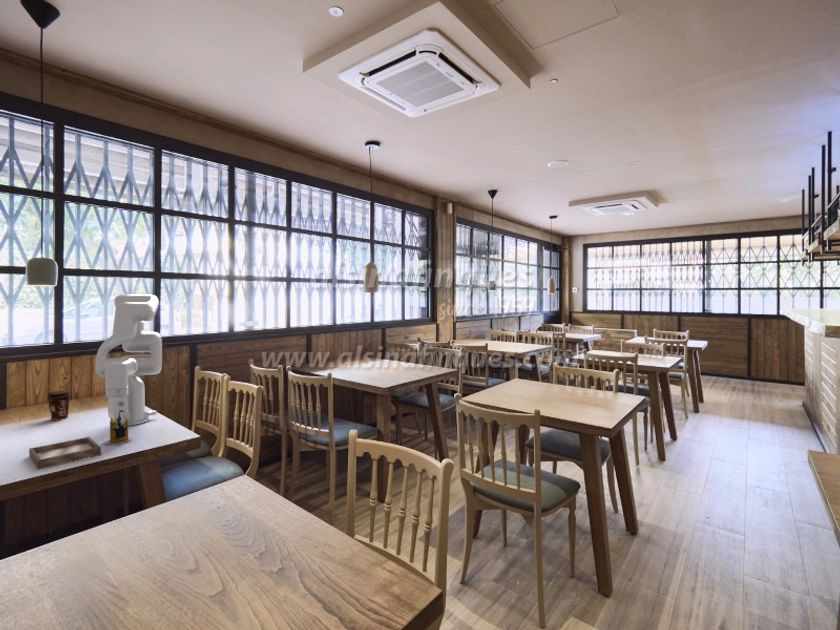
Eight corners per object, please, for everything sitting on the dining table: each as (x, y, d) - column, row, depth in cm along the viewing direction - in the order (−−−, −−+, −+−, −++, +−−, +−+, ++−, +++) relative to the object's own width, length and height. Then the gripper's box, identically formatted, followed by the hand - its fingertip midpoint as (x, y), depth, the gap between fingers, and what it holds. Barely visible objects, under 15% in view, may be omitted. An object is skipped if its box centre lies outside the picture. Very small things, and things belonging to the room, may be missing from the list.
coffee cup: (43, 420, 202) (42, 392, 202) (62, 415, 210) (62, 389, 209) (55, 422, 199) (54, 394, 199) (74, 417, 207) (74, 391, 206)
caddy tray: (89, 444, 173) (89, 436, 173) (101, 455, 162) (100, 447, 162) (29, 456, 159) (29, 448, 159) (37, 469, 148) (37, 460, 148)
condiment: (120, 445, 172) (119, 415, 171) (100, 443, 172) (99, 414, 172) (134, 438, 179) (133, 410, 178) (114, 437, 180) (114, 409, 179)
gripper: (134, 394, 171) (135, 438, 172) (121, 386, 182) (122, 428, 183) (112, 397, 165) (113, 443, 167) (99, 389, 176) (100, 432, 178)
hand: (117, 434), depth 175 cm, fingers closed on condiment, 6 cm apart
